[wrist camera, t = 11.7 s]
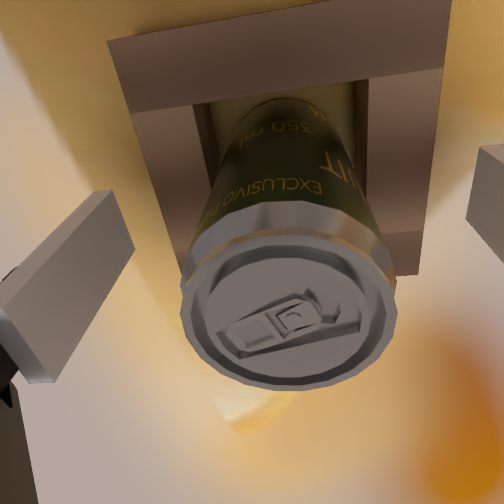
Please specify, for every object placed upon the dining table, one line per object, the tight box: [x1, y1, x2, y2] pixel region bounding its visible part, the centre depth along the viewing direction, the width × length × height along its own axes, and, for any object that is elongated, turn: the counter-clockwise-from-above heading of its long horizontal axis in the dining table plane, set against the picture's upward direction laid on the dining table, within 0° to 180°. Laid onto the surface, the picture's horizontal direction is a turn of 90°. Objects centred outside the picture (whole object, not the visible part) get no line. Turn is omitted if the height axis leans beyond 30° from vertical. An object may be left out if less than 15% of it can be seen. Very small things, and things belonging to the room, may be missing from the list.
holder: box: [107, 0, 452, 276], centre depth 17 cm, size 12×12×3 cm
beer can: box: [180, 99, 398, 391], centre depth 13 cm, size 5×5×12 cm
